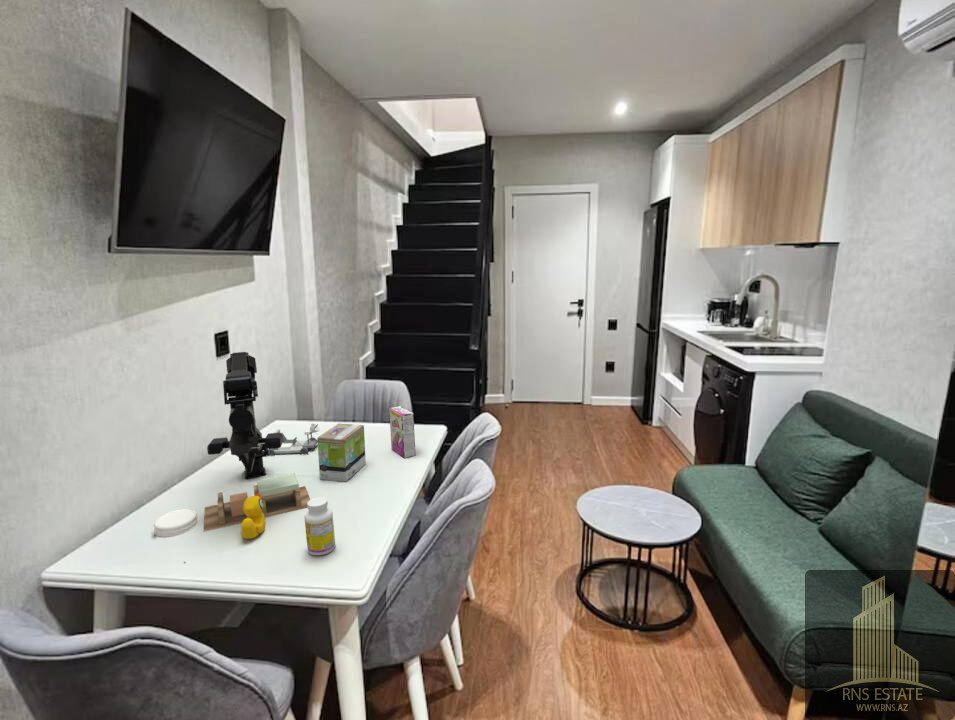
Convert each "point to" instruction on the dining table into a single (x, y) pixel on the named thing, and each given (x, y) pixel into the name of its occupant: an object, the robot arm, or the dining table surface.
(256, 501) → the duckling
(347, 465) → the tea box
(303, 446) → the toy car
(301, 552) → the dining table surface
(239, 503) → the block
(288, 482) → the cover
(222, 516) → the wooden slotted rack
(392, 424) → the candy bar box
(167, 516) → the coaster
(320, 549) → the supplement bottle
